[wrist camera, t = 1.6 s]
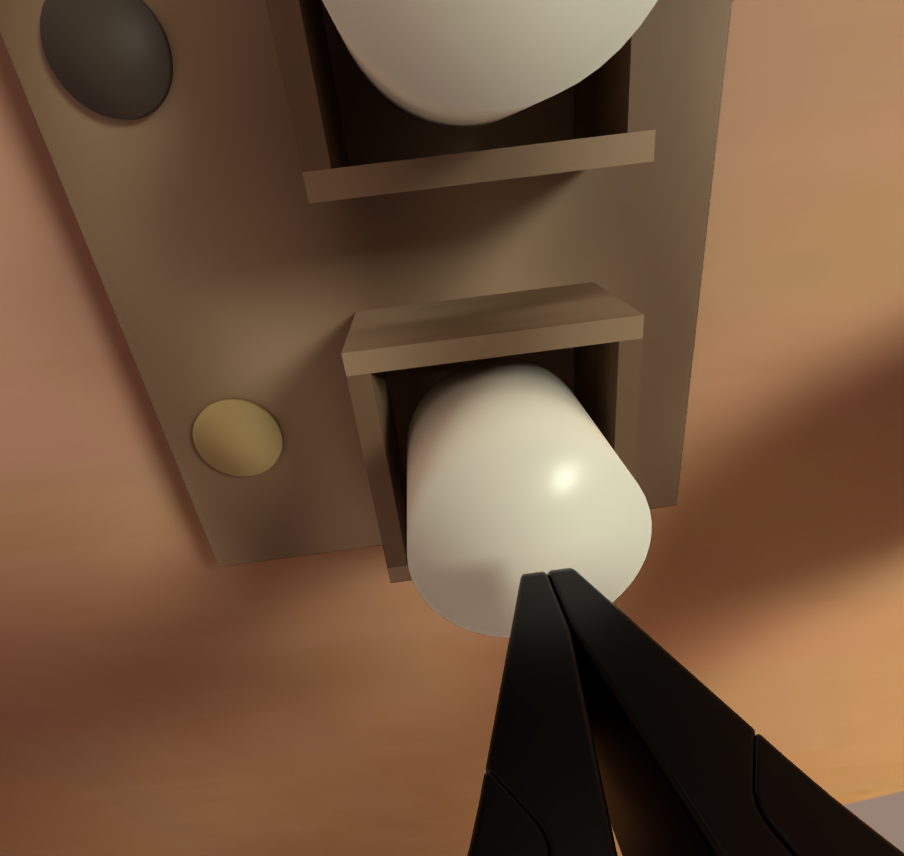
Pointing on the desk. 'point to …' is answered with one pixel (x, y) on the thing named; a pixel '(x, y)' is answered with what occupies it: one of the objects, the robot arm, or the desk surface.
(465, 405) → the button
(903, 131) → the desk surface
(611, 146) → the board
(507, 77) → the button
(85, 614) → the desk surface
